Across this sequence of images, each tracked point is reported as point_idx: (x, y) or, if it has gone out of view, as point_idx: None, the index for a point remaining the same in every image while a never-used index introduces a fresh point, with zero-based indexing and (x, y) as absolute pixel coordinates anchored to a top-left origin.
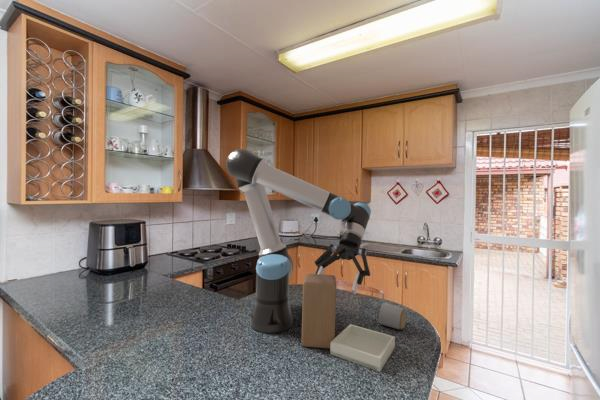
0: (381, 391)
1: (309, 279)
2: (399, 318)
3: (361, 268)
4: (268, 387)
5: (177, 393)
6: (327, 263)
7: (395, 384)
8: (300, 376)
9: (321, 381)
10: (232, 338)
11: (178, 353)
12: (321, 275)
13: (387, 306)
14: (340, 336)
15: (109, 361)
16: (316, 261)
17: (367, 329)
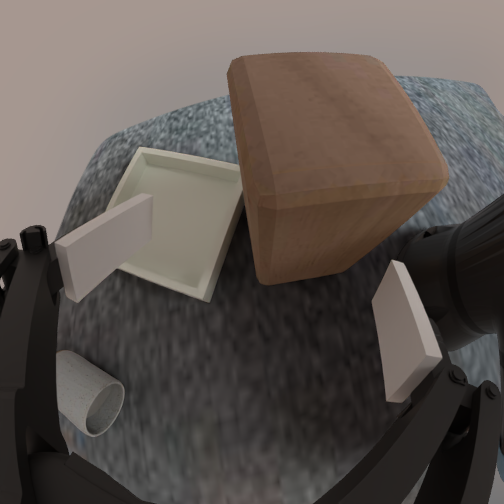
0: (157, 120)
1: (374, 71)
2: (60, 352)
3: (19, 266)
4: None
5: (408, 77)
6: (392, 432)
7: (131, 142)
8: None
9: None
10: (460, 192)
11: (475, 139)
12: (353, 141)
13: (74, 393)
14: (227, 207)
15: (498, 121)
16: (493, 394)
17: (148, 275)
